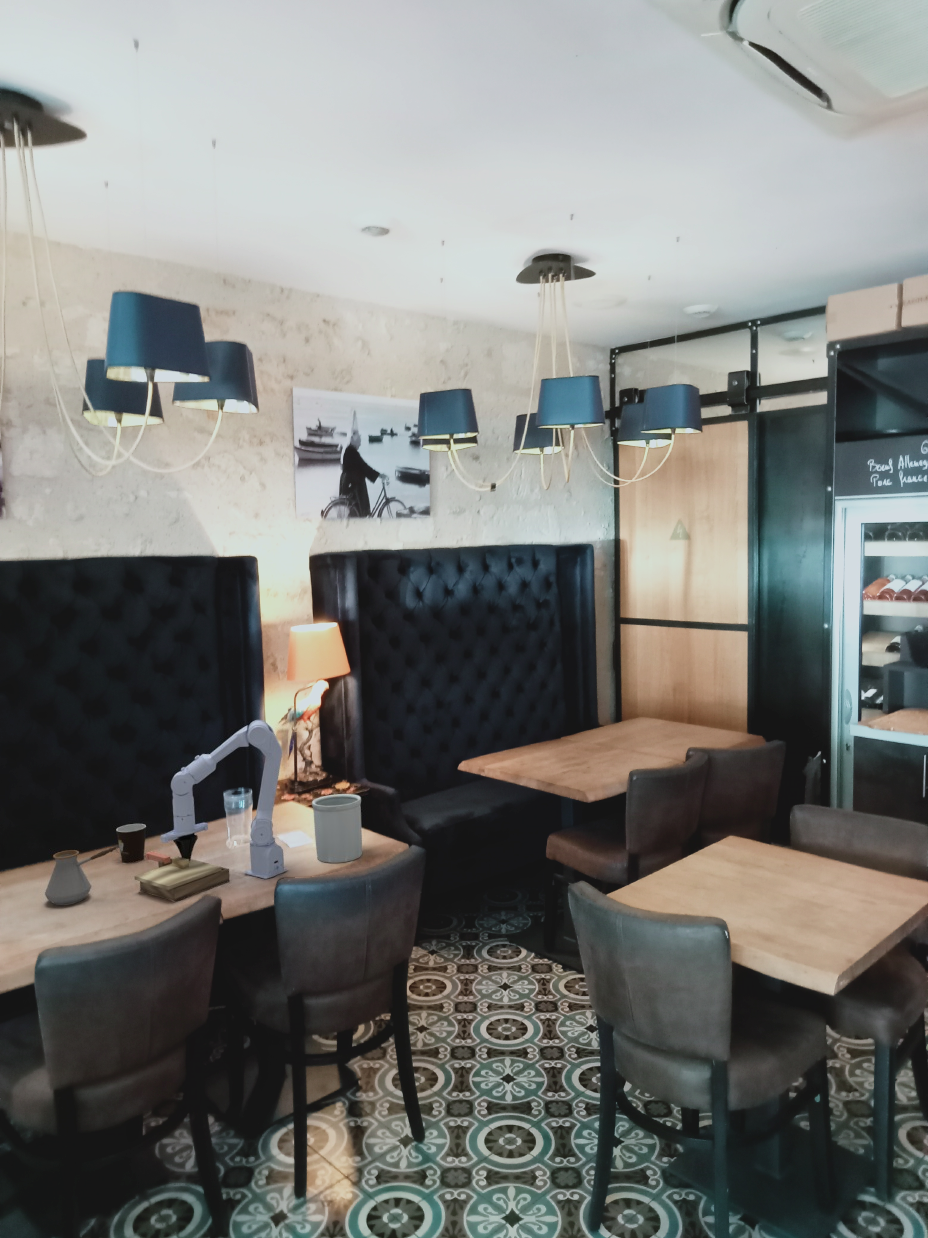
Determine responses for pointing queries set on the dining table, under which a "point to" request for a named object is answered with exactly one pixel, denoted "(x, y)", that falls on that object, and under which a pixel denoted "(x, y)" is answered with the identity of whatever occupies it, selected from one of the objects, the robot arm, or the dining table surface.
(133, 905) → the dining table surface
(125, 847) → the coffee mug
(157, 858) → the pink bar
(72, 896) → the coffee pot
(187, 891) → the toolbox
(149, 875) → the lid
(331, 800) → the utensil holder
